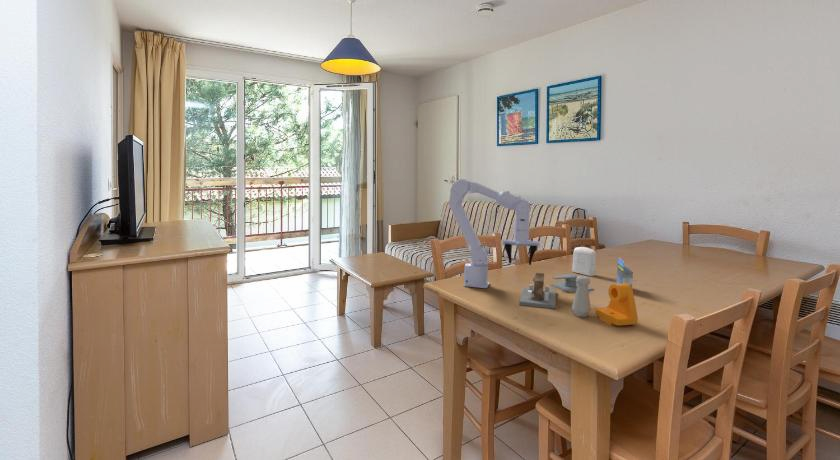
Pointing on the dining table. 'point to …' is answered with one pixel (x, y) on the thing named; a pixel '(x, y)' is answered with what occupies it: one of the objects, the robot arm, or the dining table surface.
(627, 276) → the label tape box
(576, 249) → the photo printer
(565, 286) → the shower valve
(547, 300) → the hinge board
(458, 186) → the robot arm
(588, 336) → the dining table surface
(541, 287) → the cabinet door
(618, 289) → the bracket
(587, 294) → the salt shaker
